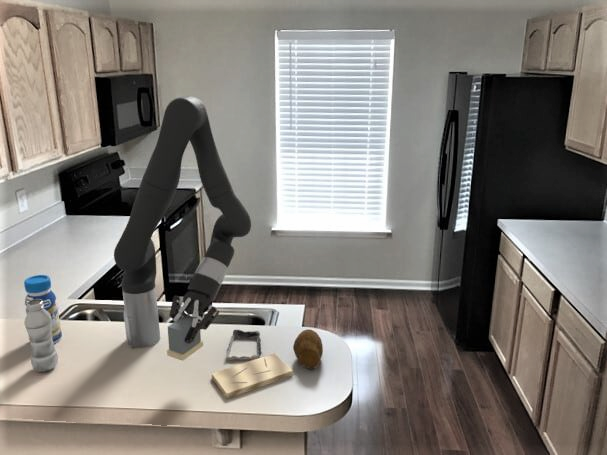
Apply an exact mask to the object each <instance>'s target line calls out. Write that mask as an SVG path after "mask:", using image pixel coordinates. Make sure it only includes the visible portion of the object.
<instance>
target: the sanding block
mask: <svg viewBox="0 0 607 455" xmlns="http://www.w3.org/2000/svg"><path fill="white" fill-rule="evenodd" d="M173 322H174V321H173ZM173 322H172V323H171V324H169V325H168V326H167V337H168V338H167V339H168V349H166V355H167V356H168V357H171V358H173V359H176V360H179V361H182V362H184V361H185V360H186V359H187V358H189V357H190V356H192V355H193V354H194V353H196V352H197V351H199V349H201V348H202V347H204V340H202V338H201V336H202V334H201V329H200V330H199V331H198V332H197V334H196V336H195V339H194V341H193V342H191V343H190V344H189V343H187V342H185V338H186V336H187V334H188V331H189V329H190V327H192V322H193V315H192V316H191V315H190V316H186V317H185V316H184V317H182V318H181V319H179V320H177V321H176V322H174V323H173Z"/></svg>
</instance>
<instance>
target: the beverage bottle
mask: <svg viewBox="0 0 607 455" xmlns="http://www.w3.org/2000/svg"><path fill="white" fill-rule="evenodd" d="M23 284H24V289H25V290H24V291H25V292H26V294H27V295H26V296H25V300H24V305H25V306H26V308H25V313H26V315H27V314H28V312H29V311H28V309H27V308H28V307H27V302H29V301H31V300H34V299H41V300H42V301H43V305H44V307H43V309H45V310H46V311H48V312H49V313H50V315H51V318H52V339H53V343H54V344H56V343H58V342H59V341H60V340H61V339H62V337H63V332H62V328H61V322H60V317H59V306H58V302H57V301H56V300H57V297H56V294H55V293H54V292H53V291H52V290H51V288H52V282H51V278H50V277H49V275H47V274H37V275H32V276H30V277H27V278H26V279H25V280H24V282H23Z"/></svg>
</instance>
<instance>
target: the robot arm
mask: <svg viewBox="0 0 607 455" xmlns="http://www.w3.org/2000/svg"><path fill="white" fill-rule="evenodd" d="M210 123H211V122H210V120H209V116H208V112H207V107H206V106H205V104H204V103H203V102H202V100H200V99H199V98H198V97H195V96H191V95H186V96H180V97H176V98H174V99H172V100H171V101H170V102H169V103H168V104H167V106H166V108H165V111H164V114H163V117H162V121H161V126H160V130H159V133H158V139H157V142H156V144H155V147H154V149H153V152H152V154H151V157H150V158H149V160H148V163H147V166H146V168H145V171H144V174H143V176H142V178H141V182H140V184H139V188H138V189H137V194H136V196H135V198H134V201H133V204H132V208H131V212H130V215H129V218H128V221H127V223H126V226H125V228H124V230H123V232H122V234H121V236H120V238H119V240H118V242H117V243H116V245H115V248H114V251H113V259H114V262H115V265H116V266H117V267H118V268H119V269H120V270H121V271H123V272H124V274H123V277H122V280H121V290H122V296H123V297H122V298H123V299H122V300H123V305H124V306H123V308H124V310H123V320H124V329H125V336H126V338H125V339H126V341H127V343H128V344H129V346H130V348H132V349H133V348H146V347H150V346H153V345H155V344H156V343H157V342H159V341H160V339H161V330H160V320H159V310H158V299H157V291H156V290H157V289H156V278H157V277H156V276H157V260H156V259H157V255H156V253H157V252H156V247H155V243H154V241H153V240H152V237H153V234H154V233H155V230H156V228H157V227H158V225H159V223H161V221H162V219H163V218H164V216H165V214H166V213H167V212H168V209H169V207H170V206H171V203H172V202H173V199H174V197H175V194H176V191H177V189H178V187H179V182H180V178H181V170H182V163H183V162H182V160H183V158H184V157H183V156H184V154H185V151H186V149H187V146H188V144H189V142H190V144H191V147H192V149H193V151H194V155H195V160H196V164H197V171H198V175H199V178H200V182H201V185H202V187H203V189H204V192H205V195H206V196H207V198H208V201H209V203H210V205H211V206H212V207H213V208H215V209H218V210H220V212H221V213H222V214H220V215H219V216H218V217H217V220H216V221H215V223H214V224H213V225H214V226H213V229H212V232H211V235H210V236H211V237H210V243H209V246H208V247H207V249H206V251H205V253H204V256H203V257H202V260H201V261H200V262H199V264H198V266H197V268H196V270H195V272H194V274H193V276H192V278H191V280H190V282H189V285H188V286H187V292H186V293H185V294H184V295H183V296H178V295H177V294H176V295H174V296H173V298H172V302H171V306H170V311H169V317H170V318H171V319H172V320H173V322H172V323H174V322H176V321H177V320H179V319H181V318H182V317H184V316H185V317H186V316H191V315H192V317H193V322H192V327H190V329H189V331H188V334H187V336H186V338H185V342H187V343H189V344H190V343H191V342H193V341H194V339H195V336H196V334H197V332H198V331H199V330H200V331H201V330H204V331H206V330H207V329H208V328H209V327H210V325H212V323H213V321H214V320H215V319H216V318H217V317H218V315H219V314H220V310H219V309H218V307H215V306H213V302H214V300H215V299H216V297H217V294H219V291H220V289H221V286H222V283H223V282H224V280H225V277H226V274H227V271H228V268H229V266H230V264H231V262H232V260H233V257H234V255H235V248H234V246H232V242H233V239H234V238H242V237H245V236H247V235H248V234H249V233H250V232H251V229H252V221H251V217H250V214H249V212H248V211H247V209H246V207H245V206H244V205H243V203H242V202H241V200H240V199H239V198H238V196H237V195H236V194H235V191H234V189H233V187H232V184H231V182H230V179H229V177H228V174H227V173H226V170H225V167H224V166H223V163H222V159H221V158H220V154H219V151H218V149H217V146H216V142H215V139H214V136H213V133H212V128H211V124H210ZM206 312H207V313H206Z"/></svg>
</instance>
